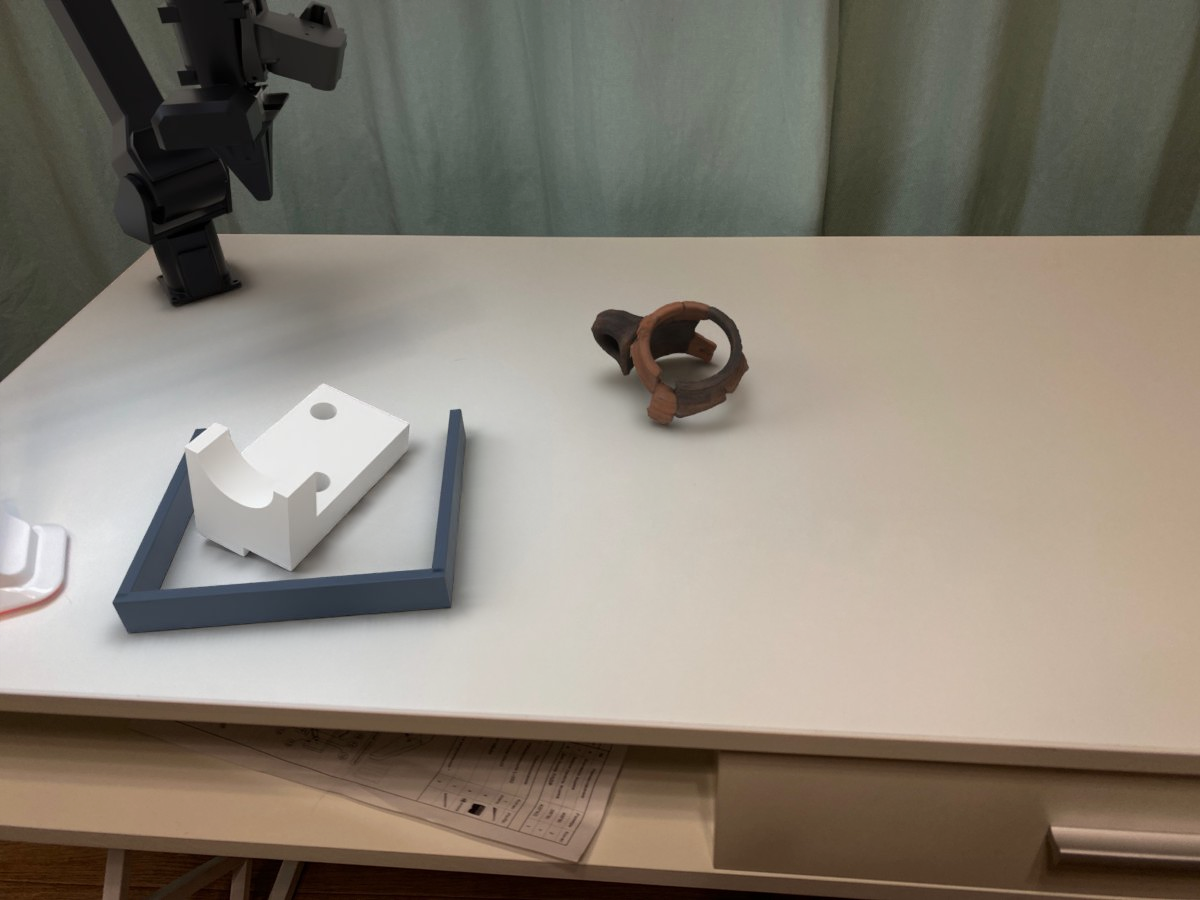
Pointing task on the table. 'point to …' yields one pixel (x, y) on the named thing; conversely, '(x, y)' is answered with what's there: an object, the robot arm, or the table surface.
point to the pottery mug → (668, 335)
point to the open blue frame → (284, 598)
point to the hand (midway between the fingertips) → (265, 199)
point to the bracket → (292, 475)
